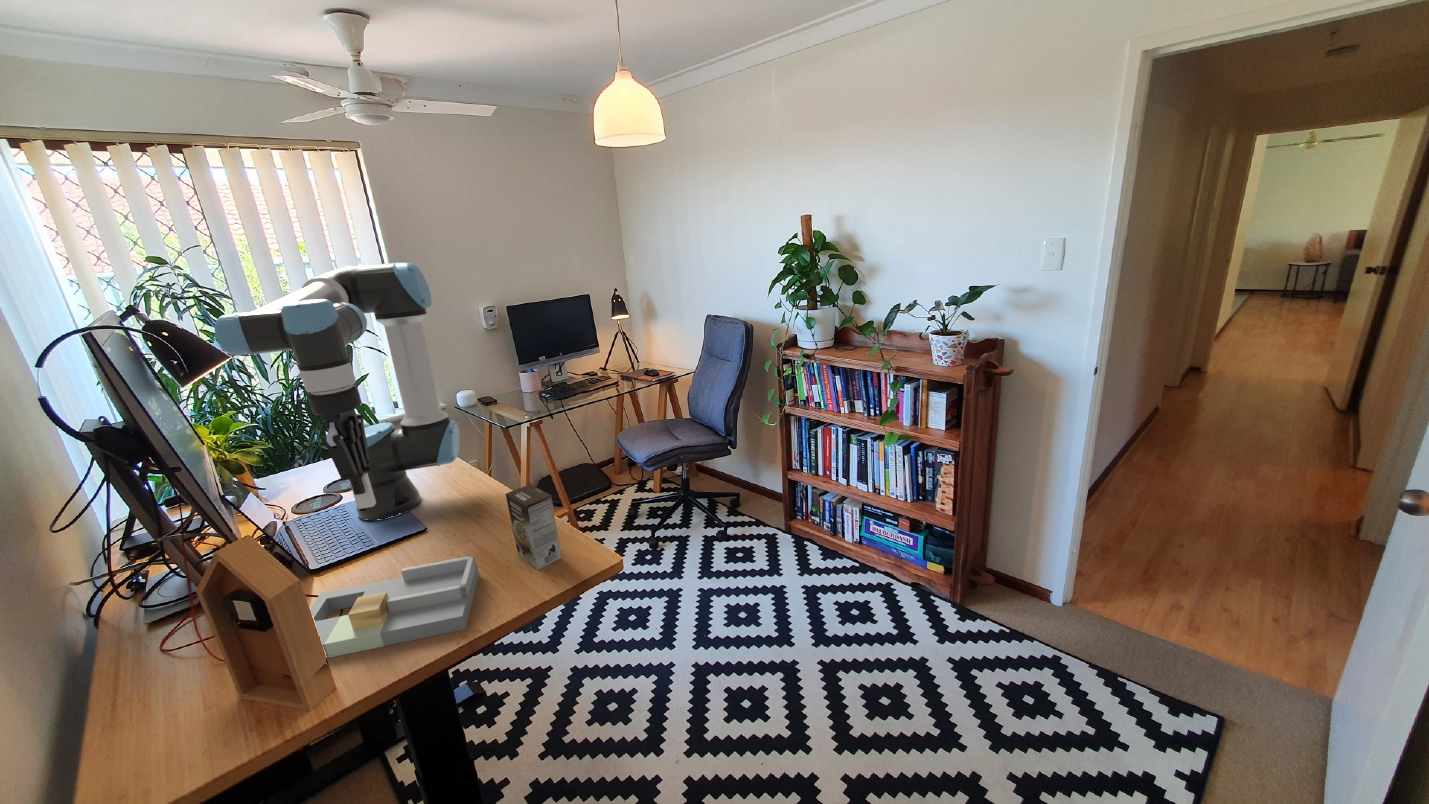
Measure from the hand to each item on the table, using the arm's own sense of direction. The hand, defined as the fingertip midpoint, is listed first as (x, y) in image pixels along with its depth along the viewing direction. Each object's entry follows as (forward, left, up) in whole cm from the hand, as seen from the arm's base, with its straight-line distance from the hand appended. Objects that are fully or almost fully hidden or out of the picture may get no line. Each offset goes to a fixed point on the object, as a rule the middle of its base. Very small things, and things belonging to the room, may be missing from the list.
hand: (367, 505), depth 104 cm
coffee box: (-7, +28, -23) cm, 37 cm away
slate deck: (+4, 0, -22) cm, 23 cm away
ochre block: (+8, -1, -19) cm, 21 cm away
